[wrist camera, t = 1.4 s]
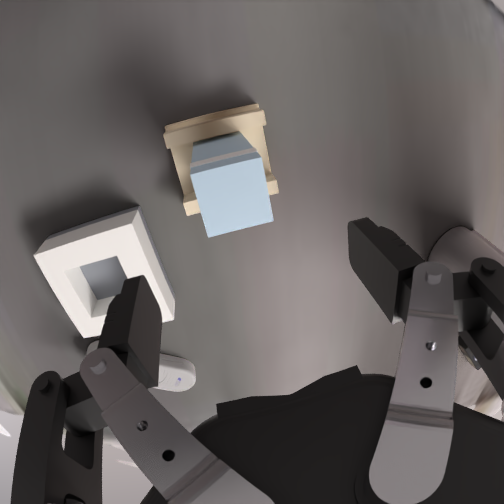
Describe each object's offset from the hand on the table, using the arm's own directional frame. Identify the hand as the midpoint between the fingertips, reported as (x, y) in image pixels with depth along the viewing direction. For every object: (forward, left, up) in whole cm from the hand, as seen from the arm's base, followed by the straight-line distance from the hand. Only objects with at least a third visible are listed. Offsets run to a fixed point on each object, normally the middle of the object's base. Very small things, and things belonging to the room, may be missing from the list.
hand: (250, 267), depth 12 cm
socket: (+14, +8, -18) cm, 24 cm away
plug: (0, 0, -17) cm, 17 cm away
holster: (0, 0, -18) cm, 18 cm away
